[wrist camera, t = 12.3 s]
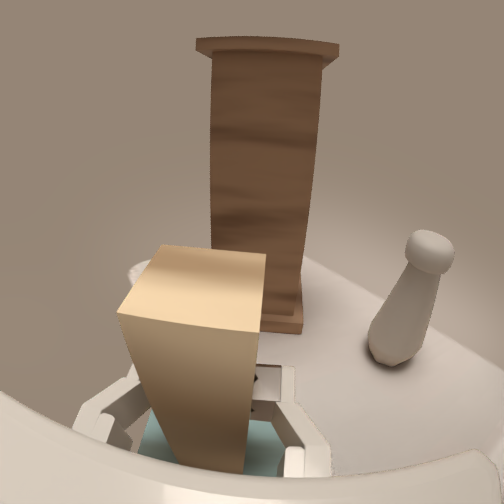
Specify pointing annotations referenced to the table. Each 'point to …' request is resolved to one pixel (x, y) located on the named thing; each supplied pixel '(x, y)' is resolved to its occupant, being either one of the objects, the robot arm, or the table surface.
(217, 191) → the pedestal
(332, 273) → the table surface
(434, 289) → the salt shaker
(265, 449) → the mallet
